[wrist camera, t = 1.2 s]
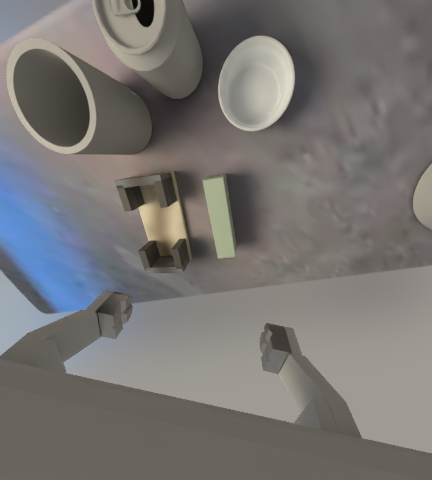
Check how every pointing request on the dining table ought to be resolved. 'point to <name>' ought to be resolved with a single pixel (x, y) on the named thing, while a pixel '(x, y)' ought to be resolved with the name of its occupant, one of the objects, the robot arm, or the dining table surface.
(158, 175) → the grey and cream cradle
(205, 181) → the slat
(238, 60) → the ramekin
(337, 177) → the dining table surface
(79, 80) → the cup
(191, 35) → the can
